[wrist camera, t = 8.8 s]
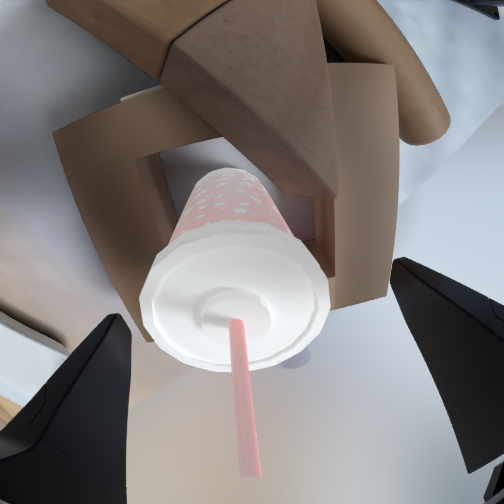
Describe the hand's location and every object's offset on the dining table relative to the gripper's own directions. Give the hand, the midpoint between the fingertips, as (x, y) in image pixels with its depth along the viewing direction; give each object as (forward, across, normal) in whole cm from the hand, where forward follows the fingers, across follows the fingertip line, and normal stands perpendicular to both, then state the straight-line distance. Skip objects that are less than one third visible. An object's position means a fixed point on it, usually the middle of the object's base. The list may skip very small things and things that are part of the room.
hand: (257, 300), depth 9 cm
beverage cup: (+9, +1, +1) cm, 9 cm away
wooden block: (+5, +2, -16) cm, 17 cm away
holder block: (+9, 0, 0) cm, 9 cm away
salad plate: (+10, +31, +11) cm, 34 cm away
